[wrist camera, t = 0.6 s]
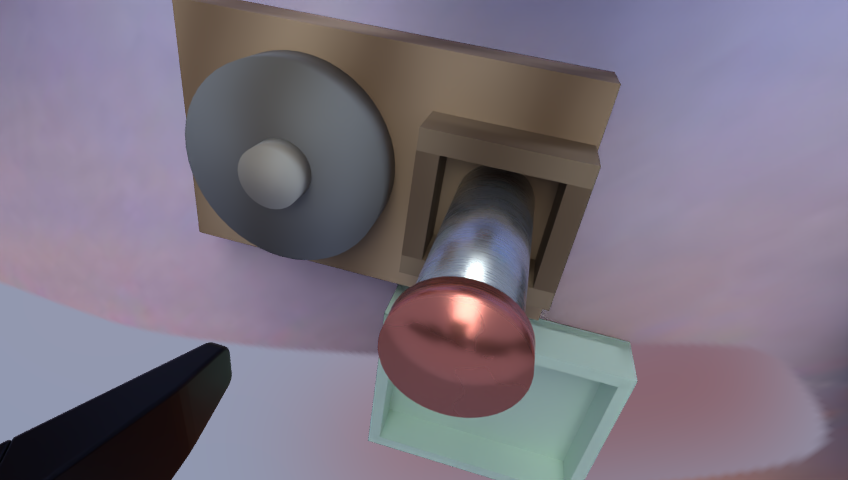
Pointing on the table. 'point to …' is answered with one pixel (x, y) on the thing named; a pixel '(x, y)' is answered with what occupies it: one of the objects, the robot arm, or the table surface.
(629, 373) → the tray
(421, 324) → the pin
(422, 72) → the block
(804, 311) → the table surface
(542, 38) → the table surface
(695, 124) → the table surface
